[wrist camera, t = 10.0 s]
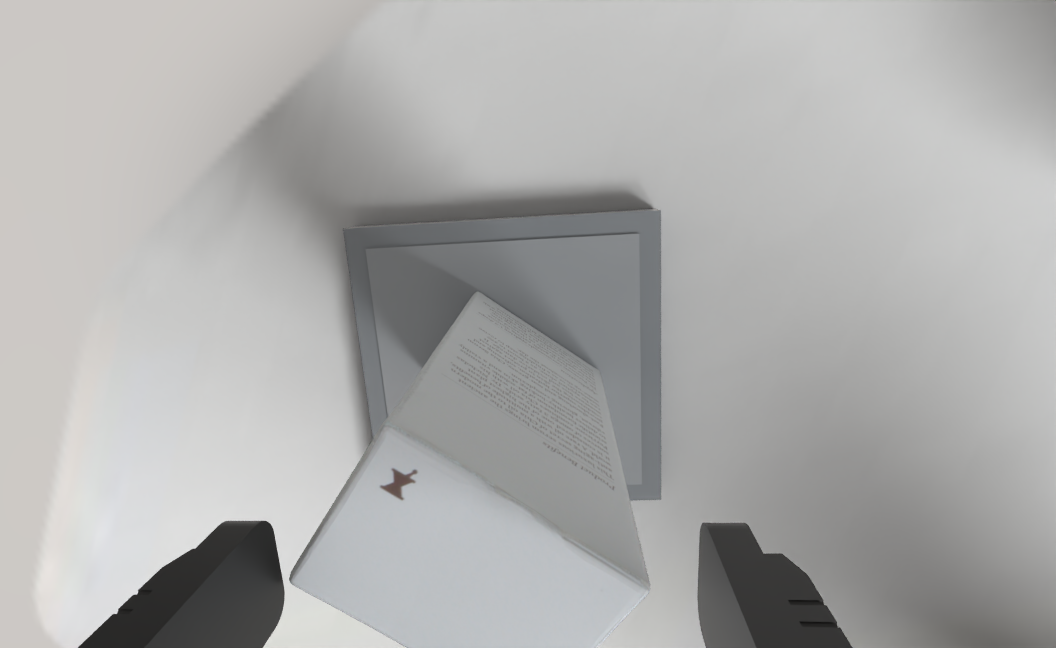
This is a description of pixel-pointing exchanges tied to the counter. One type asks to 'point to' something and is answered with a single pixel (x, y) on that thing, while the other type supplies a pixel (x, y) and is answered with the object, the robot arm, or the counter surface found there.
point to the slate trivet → (522, 306)
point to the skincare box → (486, 502)
